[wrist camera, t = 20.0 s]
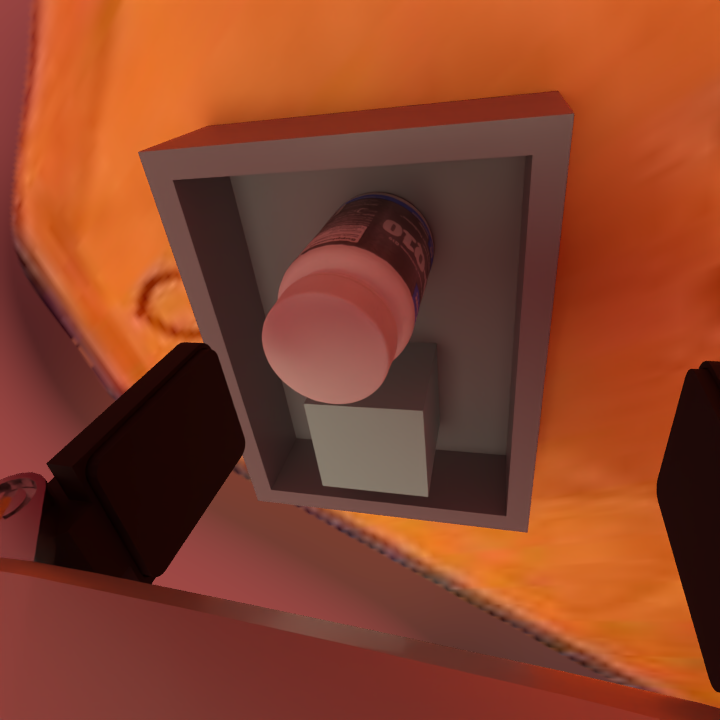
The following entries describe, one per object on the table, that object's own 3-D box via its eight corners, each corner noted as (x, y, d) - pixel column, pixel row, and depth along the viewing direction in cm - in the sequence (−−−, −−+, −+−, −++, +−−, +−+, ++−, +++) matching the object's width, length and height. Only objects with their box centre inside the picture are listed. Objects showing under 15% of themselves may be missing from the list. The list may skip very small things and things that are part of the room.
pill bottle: (450, 278, 21) (426, 402, 15) (353, 305, 23) (293, 426, 16) (412, 171, 19) (363, 260, 12) (309, 211, 21) (219, 306, 14)
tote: (523, 456, 27) (527, 532, 23) (289, 437, 31) (258, 500, 27) (558, 90, 17) (574, 113, 13) (207, 126, 21) (138, 152, 17)
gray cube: (439, 423, 26) (428, 496, 22) (349, 417, 27) (322, 485, 23) (436, 342, 23) (422, 410, 19) (335, 340, 24) (303, 403, 20)
